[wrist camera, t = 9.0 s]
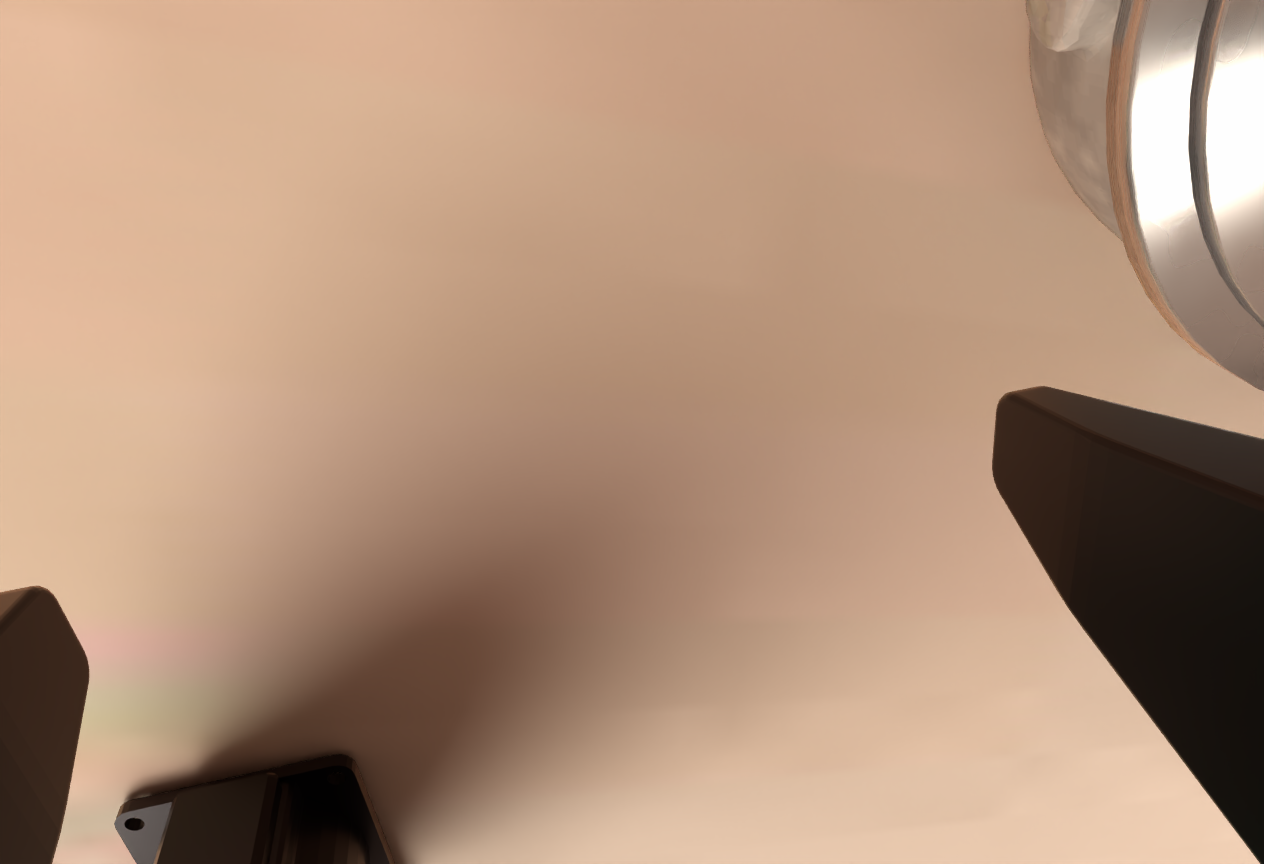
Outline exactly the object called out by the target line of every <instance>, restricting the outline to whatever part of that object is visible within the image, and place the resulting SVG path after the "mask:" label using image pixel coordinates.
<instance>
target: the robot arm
mask: <svg viewBox="0 0 1264 864" xmlns="http://www.w3.org/2000/svg"><path fill="white" fill-rule="evenodd" d="M992 471H993V477H994V481H995V484H996V487H997V489H998V491H999V493H1000V495H1001V496H1002V498H1003V500H1004V501H1005V503H1006V505H1007V507H1008V508H1009V510H1010V512H1011V513H1012V515H1013V517H1014V518H1015V520H1016V522H1017V523H1018V525H1019V527H1020V529H1021V530H1022V532H1023V534H1024V535H1025V537H1026V539H1027V540H1028V542H1029V544H1030V546H1031V547H1032V549H1033V551H1034V552H1035V554H1036V556H1037V557H1038V559H1039V561H1040V562H1041V564H1042V566H1043V568H1044V569H1045V571H1046V573H1047V574H1048V576H1049V578H1050V579H1051V581H1052V583H1053V584H1054V586H1055V588H1056V589H1057V591H1058V593H1059V594H1060V596H1061V597H1062V599H1063V600H1064V602H1065V604H1066V605H1067V607H1068V608H1069V610H1070V611H1071V612H1072V614H1073V615H1074V617H1075V618H1076V619H1077V621H1078V622H1079V624H1080V625H1081V626H1082V628H1083V629H1084V631H1085V632H1086V633H1087V635H1088V636H1089V637H1090V638H1091V640H1092V641H1093V642H1094V644H1095V645H1096V646H1097V648H1098V649H1099V650H1100V652H1101V653H1102V654H1103V656H1104V657H1105V658H1106V660H1107V661H1108V662H1109V664H1110V665H1111V666H1112V668H1113V669H1114V670H1115V672H1116V673H1117V674H1118V676H1119V677H1120V678H1121V680H1122V681H1123V682H1124V684H1125V685H1126V686H1127V688H1128V689H1129V690H1130V692H1131V693H1132V694H1133V696H1134V697H1135V698H1136V699H1137V701H1138V702H1139V703H1140V705H1141V706H1142V707H1143V709H1144V710H1145V711H1146V713H1147V714H1148V715H1149V717H1150V718H1151V719H1152V721H1153V722H1154V723H1155V725H1156V726H1157V727H1158V729H1159V730H1160V731H1161V733H1162V734H1163V735H1164V737H1165V738H1166V739H1167V741H1168V742H1169V743H1170V745H1171V746H1172V747H1173V749H1174V750H1175V751H1176V753H1177V754H1178V755H1179V757H1180V758H1181V759H1182V760H1183V762H1184V763H1185V764H1186V766H1187V767H1188V768H1189V770H1190V771H1191V772H1192V774H1193V775H1194V776H1195V778H1196V779H1197V780H1198V782H1199V783H1200V784H1201V786H1202V787H1203V788H1204V790H1205V791H1206V792H1207V794H1208V795H1209V796H1210V798H1211V799H1212V800H1213V802H1214V803H1215V804H1216V806H1217V807H1218V808H1219V810H1220V811H1221V812H1222V814H1223V815H1224V816H1225V818H1226V819H1227V820H1228V822H1229V823H1230V824H1231V825H1232V827H1233V828H1234V829H1235V831H1236V832H1237V833H1238V835H1239V836H1240V837H1241V839H1242V840H1243V841H1244V843H1245V844H1246V845H1247V847H1248V848H1249V849H1250V851H1251V852H1252V853H1253V855H1254V856H1255V857H1256V859H1257V860H1258V861H1259V863H1260V864H1264V439H1261V438H1257V437H1253V436H1249V435H1245V434H1241V433H1236V432H1232V431H1228V430H1224V429H1220V428H1216V427H1212V426H1208V425H1203V424H1199V423H1195V422H1191V421H1187V420H1183V419H1179V418H1174V417H1170V416H1166V415H1162V414H1158V413H1154V412H1150V411H1146V410H1141V409H1137V408H1133V407H1129V406H1125V405H1121V404H1117V403H1113V402H1108V401H1104V400H1100V399H1096V398H1092V397H1088V396H1084V395H1079V394H1075V393H1071V392H1067V391H1063V390H1059V389H1055V388H1051V387H1046V386H1039V387H1033V388H1028V389H1023V390H1018V391H1013V392H1009V393H1006V394H1005V395H1004V396H1003V397H1002V398H1001V399H1000V400H999V403H998V405H997V410H996V421H995V434H994V447H993V460H992ZM88 684H89V665H88V660H87V657H86V654H85V652H84V650H83V648H82V646H81V644H80V642H79V640H78V638H77V636H76V635H75V633H74V631H73V629H72V627H71V625H70V623H69V621H68V620H67V618H66V616H65V614H64V612H63V610H62V608H61V607H60V605H59V603H58V601H57V599H56V598H55V596H54V595H53V594H52V593H51V592H50V591H49V590H48V589H46V588H43V587H41V586H30V587H25V588H20V589H15V590H10V591H5V592H0V864H52V862H53V858H54V854H55V851H56V847H57V844H58V840H59V836H60V833H61V828H62V824H63V819H64V815H65V810H66V805H67V800H68V794H69V789H70V783H71V778H72V772H73V766H74V761H75V755H76V750H77V744H78V739H79V733H80V728H81V722H82V717H83V711H84V706H85V700H86V695H87V689H88ZM333 772H341V774H335V773H333ZM136 818H139V819H136ZM114 824H115V828H116V830H117V832H118V833H119V835H120V837H121V838H122V840H123V842H124V843H125V845H126V847H127V848H128V850H129V852H130V853H131V855H132V857H133V858H134V860H135V862H136V863H137V864H395V863H394V860H393V857H392V855H391V852H390V850H389V847H388V845H387V842H386V839H385V837H384V834H383V832H382V829H381V826H380V824H379V821H378V819H377V816H376V814H375V811H374V808H373V806H372V803H371V801H370V798H369V795H368V793H367V790H366V788H365V785H364V783H363V780H362V777H361V775H360V772H359V770H358V767H357V764H356V763H355V761H354V760H353V759H352V758H350V757H349V756H346V755H341V754H339V755H331V756H326V757H322V758H317V759H313V760H308V761H304V762H300V763H295V764H291V765H286V766H282V767H277V768H273V769H268V770H264V771H259V772H255V773H251V774H246V775H242V776H237V777H233V778H228V779H224V780H219V781H215V782H210V783H206V784H201V785H197V786H193V787H188V788H184V789H179V790H175V791H170V792H166V793H161V794H157V795H152V796H148V797H143V798H139V799H135V800H131V801H128V802H125V803H124V804H123V805H122V806H121V807H120V809H119V812H118V815H117V818H116V820H115V823H114Z"/></svg>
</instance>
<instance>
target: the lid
mask: <svg viewBox="0 0 1264 864" xmlns="http://www.w3.org/2000/svg"><path fill="white" fill-rule="evenodd" d="M1106 157H1107V166H1108V173H1109V180H1110V187H1111V194H1112V201H1113V207H1114V213H1115V216H1116V219H1117V223H1118V226H1119V229H1120V233H1121V236H1122V239H1123V243H1124V246H1125V249H1126V252H1127V256H1128V258H1129V260H1130V262H1131V264H1132V266H1133V268H1134V270H1135V272H1136V274H1137V276H1138V278H1139V280H1140V282H1141V284H1142V286H1143V288H1144V291H1145V293H1146V295H1147V296H1148V298H1149V299H1150V300H1151V302H1152V303H1153V304H1154V306H1155V307H1156V308H1157V310H1158V311H1159V312H1160V314H1161V315H1162V316H1163V318H1164V319H1165V320H1166V322H1167V323H1168V325H1169V326H1170V327H1171V328H1172V329H1173V330H1174V331H1175V332H1176V333H1177V334H1178V335H1179V336H1180V337H1182V338H1183V339H1184V340H1185V341H1186V342H1187V343H1188V344H1189V345H1190V346H1191V347H1192V348H1194V349H1195V350H1196V351H1197V352H1198V353H1199V354H1201V355H1202V356H1204V357H1206V358H1207V359H1209V360H1210V361H1212V362H1214V363H1215V364H1217V365H1218V366H1220V367H1222V368H1223V369H1225V370H1227V371H1228V372H1230V373H1231V374H1233V375H1235V376H1237V377H1238V378H1240V379H1242V380H1244V381H1245V382H1247V383H1249V384H1251V385H1252V386H1254V387H1256V388H1258V389H1260V390H1262V391H1264V0H1121V2H1120V7H1119V12H1118V16H1117V21H1116V25H1115V30H1114V35H1113V39H1112V49H1111V58H1110V67H1109V77H1108V86H1107V96H1106Z"/></svg>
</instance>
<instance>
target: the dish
mask: <svg viewBox="0 0 1264 864" xmlns="http://www.w3.org/2000/svg"><path fill="white" fill-rule="evenodd" d="M1120 2H1121V0H1026V12H1027V15H1028V18H1029V21H1030V43H1029V49H1030V71H1031V81H1032V86H1033V91H1034V96H1035V101H1036V106H1037V110H1038V113H1039V117H1040V120H1041V124H1042V128H1043V131H1044V135H1045V137H1046V139H1047V142H1048V144H1049V147H1050V149H1051V152H1052V154H1053V157H1054V159H1055V160H1056V162H1057V164H1058V165H1059V167H1060V169H1061V170H1062V172H1063V174H1064V175H1065V177H1066V179H1067V180H1068V182H1069V183H1070V185H1071V187H1072V188H1073V190H1074V192H1075V193H1076V194H1077V195H1078V196H1079V198H1080V199H1081V200H1082V201H1083V202H1084V203H1085V205H1086V206H1087V207H1088V208H1089V209H1090V210H1091V212H1092V213H1093V214H1094V215H1095V216H1096V217H1097V219H1098V220H1099V221H1100V222H1102V223H1103V224H1104V225H1105V226H1106V227H1107V228H1108V229H1109V230H1111V231H1112V232H1113V233H1114V234H1115V235H1116V236H1117V237H1118V238H1120V239H1121V240H1122V241H1123V239H1122V236H1121V233H1120V229H1119V226H1118V223H1117V219H1116V216H1115V213H1114V207H1113V201H1112V194H1111V187H1110V180H1109V173H1108V166H1107V157H1106V96H1107V86H1108V77H1109V67H1110V58H1111V49H1112V39H1113V35H1114V30H1115V25H1116V21H1117V16H1118V12H1119V7H1120Z"/></svg>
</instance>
